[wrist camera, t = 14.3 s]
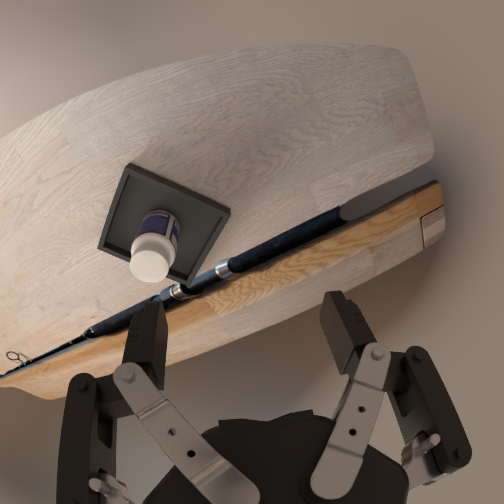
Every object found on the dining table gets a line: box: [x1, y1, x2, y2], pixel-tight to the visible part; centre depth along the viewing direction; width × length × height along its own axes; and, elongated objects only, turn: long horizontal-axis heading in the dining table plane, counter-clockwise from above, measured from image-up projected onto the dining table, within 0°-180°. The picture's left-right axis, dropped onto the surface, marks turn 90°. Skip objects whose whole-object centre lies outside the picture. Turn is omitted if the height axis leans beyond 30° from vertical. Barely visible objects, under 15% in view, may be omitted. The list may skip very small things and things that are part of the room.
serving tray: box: [97, 163, 231, 286], centre depth 40 cm, size 16×14×2 cm
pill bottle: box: [130, 210, 180, 283], centre depth 36 cm, size 6×6×10 cm
